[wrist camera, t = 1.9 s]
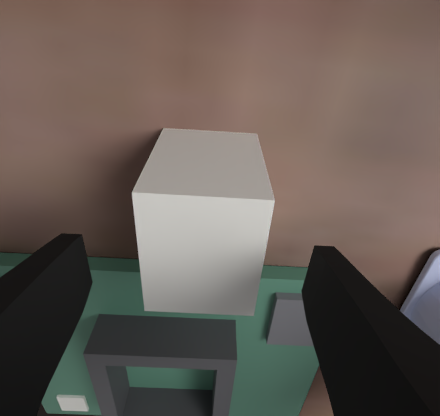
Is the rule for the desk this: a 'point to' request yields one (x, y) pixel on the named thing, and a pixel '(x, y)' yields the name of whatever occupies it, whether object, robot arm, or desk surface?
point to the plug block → (203, 222)
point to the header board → (182, 351)
